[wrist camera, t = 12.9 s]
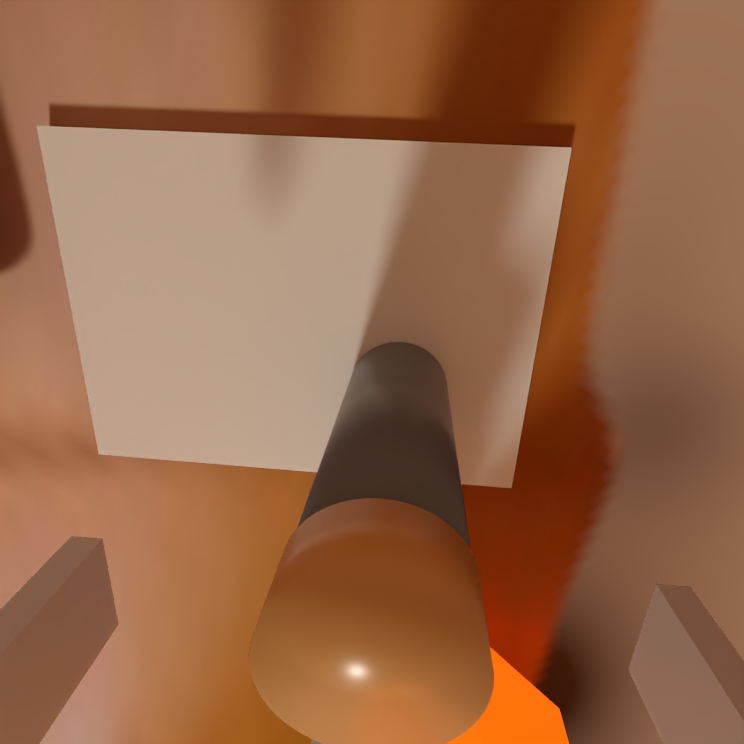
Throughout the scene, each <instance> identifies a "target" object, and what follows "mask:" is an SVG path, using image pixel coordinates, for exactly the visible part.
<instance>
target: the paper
mask: <svg viewBox="0 0 744 744" xmlns="http://www.w3.org/2000/svg"><path fill="white" fill-rule="evenodd" d="M37 131H38V136H39V142H40V147H41V152H42V158H43V163H44V168H45V173H46V179H47V184H48V189H49V194H50V200H51V205H52V210H53V216H54V221H55V226H56V231H57V237H58V242H59V247H60V252H61V258H62V263H63V268H64V274H65V279H66V284H67V289H68V295H69V300H70V305H71V311H72V316H73V321H74V326H75V332H76V337H77V342H78V347H79V353H80V358H81V363H82V369H83V374H84V379H85V384H86V390H87V395H88V400H89V405H90V411H91V416H92V421H93V427H94V432H95V437H96V442H97V448H98V453H99V454H102V455H114V456H126V457H138V458H150V459H163V460H175V461H187V462H199V463H211V464H223V465H235V466H247V467H259V468H272V469H284V470H296V471H308V472H317V471H318V469H319V466H320V463H321V460H322V457H323V455H324V452H325V449H326V446H327V443H328V440H329V438H330V435H331V432H332V429H333V426H334V424H335V421H336V418H337V415H338V412H339V410H340V407H341V404H342V401H343V398H344V396H345V393H346V390H347V387H348V384H349V381H350V379H351V376H352V373H353V370H354V368H355V366H356V364H357V363H358V361H359V360H360V359H361V358H362V357H363V356H364V354H366V353H367V352H368V351H370V350H371V349H373V348H375V347H377V346H379V345H382V344H385V343H391V342H405V343H410V344H414V345H417V346H419V347H421V348H423V349H425V350H426V351H428V352H429V353H431V354H432V355H433V356H434V357H435V358H436V359H437V361H438V362H439V363H440V365H441V366H442V368H443V371H444V373H445V376H446V381H447V388H448V395H449V402H450V409H451V416H452V423H453V431H454V438H455V445H456V452H457V459H458V466H459V473H460V481H461V484H466V485H478V486H490V487H502V488H512V483H513V477H514V472H515V466H516V460H517V455H518V449H519V443H520V438H521V432H522V426H523V421H524V415H525V409H526V404H527V398H528V392H529V387H530V381H531V375H532V370H533V364H534V358H535V353H536V347H537V341H538V336H539V330H540V324H541V319H542V313H543V308H544V302H545V296H546V291H547V285H548V279H549V274H550V268H551V262H552V257H553V251H554V245H555V240H556V234H557V228H558V223H559V217H560V211H561V206H562V200H563V194H564V189H565V183H566V177H567V172H568V166H569V160H570V155H571V149H572V148H570V147H545V146H521V145H496V144H472V143H448V142H423V141H399V140H374V139H350V138H325V137H301V136H276V135H252V134H227V133H203V132H179V131H154V130H130V129H105V128H81V127H56V126H37Z"/></svg>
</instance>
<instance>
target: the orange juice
mask: <svg viewBox="0 0 744 744" xmlns="http://www.w3.org/2000/svg"><path fill="white" fill-rule="evenodd" d="M490 650H491V656H492V663H493V670H494V688H493V692H492V696H491V699H490V702H489V704H488V706H487V708H486V710H485V711H484V713H483V714H482V716H481V717H480V719H479V720H478V721H477V722H476V723H475V724H474V725H473V726H472V727H471V728H470V729H469V730H467V731H466V732H465V733H464V734H462V735H461V736H459V737H457V738H456V739H454V740H452V741H451V742H448V743H446V744H569V742H568V739H567V735H566V732H565V728H564V724H563V721H562V717H561V714H560V710H559V708H558V707H557V706H556V705H554V704H553V703H552V702H551V701H550V700H549V699H548V698H547V697H545V696H544V695H543V694H542V693H541V692H540V691H539V690H538V689H537V688H535V687H534V686H533V685H532V684H531V683H530V682H529V681H528V680H526V679H525V678H524V677H523V676H522V675H521V674H520V673H519V672H517V671H516V670H515V669H514V668H513V667H512V666H511V665H510V664H508V663H507V662H506V661H505V660H504V659H503V658H502V657H501V656H499V655H498V654H497V653H496V652H495V651H494V650H493V649H492V648H490Z"/></svg>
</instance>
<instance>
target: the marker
mask: <svg viewBox="0 0 744 744" xmlns="http://www.w3.org/2000/svg"><path fill="white" fill-rule="evenodd" d="M249 668H250V672H251V677H252V679H253V682H254V684H255V687H256V689H257V690H258V692H259V694H260V696H261V697H262V699H263V700H264V701H265V703H266V704H267V705H268V707H269V708H270V709H271V710H272V711H273V712H274V713H275V714H276V715H277V716H278V717H279V718H280V719H282V720H283V721H284V722H285V723H286V724H288V725H289V726H290V727H292V728H293V729H295V730H296V731H298V732H299V733H301V734H303V735H305V736H307V737H309V738H311V739H313V740H315V741H317V742H320V743H322V744H446V743H448V742H451V741H452V740H454V739H456V738H457V737H459V736H461V735H462V734H464V733H465V732H466V731H467V730H469V729H470V728H471V727H472V726H473V725H474V724H475V723H476V722H477V721H478V720H479V719H480V717H481V716H482V714H483V713H484V711H485V710H486V708H487V706H488V704H489V702H490V699H491V696H492V692H493V688H494V670H493V663H492V656H491V650H490V643H489V637H488V630H487V624H486V617H485V611H484V604H483V598H482V591H481V585H480V578H479V572H478V567H477V564H476V561H475V558H474V556H473V554H472V552H471V550H470V545H469V538H468V530H467V523H466V516H465V509H464V502H463V495H462V488H461V481H460V473H459V466H458V459H457V452H456V445H455V438H454V431H453V423H452V416H451V409H450V402H449V395H448V388H447V381H446V376H445V373H444V371H443V368H442V366H441V365H440V363H439V362H438V361H437V359H436V358H435V357H434V356H433V355H432V354H431V353H429V352H428V351H426V350H425V349H423V348H421V347H419V346H417V345H414V344H410V343H405V342H391V343H385V344H382V345H379V346H377V347H375V348H373V349H371V350H370V351H368V352H367V353H366V354H364V356H363V357H362V358H361V359H360V360H359V361H358V363H357V364H356V366H355V368H354V370H353V373H352V376H351V379H350V381H349V384H348V387H347V390H346V393H345V396H344V398H343V401H342V404H341V407H340V410H339V412H338V415H337V418H336V421H335V424H334V426H333V429H332V432H331V435H330V438H329V440H328V443H327V446H326V449H325V452H324V455H323V457H322V460H321V463H320V466H319V469H318V471H317V474H316V477H315V480H314V483H313V485H312V488H311V491H310V494H309V497H308V500H307V502H306V505H305V508H304V511H303V514H302V516H301V519H300V522H299V525H298V528H297V529H296V530H295V531H294V533H293V534H292V535H291V537H290V539H289V540H288V542H287V544H286V546H285V549H284V552H283V554H282V557H281V560H280V563H279V565H278V568H277V571H276V573H275V576H274V579H273V581H272V584H271V587H270V590H269V592H268V595H267V598H266V600H265V603H264V606H263V608H262V611H261V614H260V617H259V619H258V622H257V625H256V627H255V630H254V633H253V636H252V639H251V641H250V647H249Z"/></svg>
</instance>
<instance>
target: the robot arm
mask: <svg viewBox="0 0 744 744" xmlns="http://www.w3.org/2000/svg"><path fill="white" fill-rule="evenodd" d="M117 625H118V619H117V614H116V609H115V603H114V598H113V593H112V588H111V582H110V577H109V572H108V566H107V561H106V556H105V550H104V545H103V540H102V539H100V538H88V537H75V536H71V537H70V538H69V539H68V541H67V542H66V543H65V544H64V545H63V546H62V547H61V548H60V549H59V550H58V551H57V552H56V553H55V554H54V555H53V556H52V557H51V558H50V559H49V560H48V561H47V562H46V563H45V564H44V565H43V566H42V567H41V568H40V570H39V571H38V572H37V573H36V574H35V575H34V576H33V577H32V578H31V579H30V580H29V581H28V582H27V583H26V584H25V585H24V586H23V587H22V588H21V589H20V590H19V591H18V592H17V593H16V594H15V595H14V596H13V597H12V598H11V600H10V601H9V602H8V603H7V604H6V605H5V606H4V607H3V608H2V609H1V610H0V744H39V743H40V742H41V740H42V739H43V737H44V736H45V734H46V732H47V731H48V729H49V728H50V726H51V725H52V723H53V722H54V720H55V719H56V717H57V716H58V714H59V713H60V711H61V710H62V708H63V707H64V705H65V704H66V702H67V701H68V699H69V698H70V696H71V695H72V693H73V692H74V690H75V689H76V687H77V686H78V684H79V683H80V681H81V680H82V678H83V677H84V675H85V674H86V672H87V671H88V669H89V668H90V666H91V665H92V663H93V662H94V660H95V659H96V657H97V656H98V654H99V653H100V651H101V649H102V648H103V646H104V645H105V643H106V642H107V640H108V639H109V637H110V636H111V634H112V633H113V631H114V630H115V628H116V627H117ZM629 672H630V674H631V676H632V678H633V680H634V683H635V684H636V687H637V689H638V691H639V693H640V695H641V698H642V700H643V702H644V704H645V706H646V708H647V711H648V712H649V715H650V717H651V719H652V721H653V723H654V725H655V727H656V730H657V732H658V734H659V736H660V738H661V740H662V743H663V744H744V661H743V659H742V658H741V656H740V655H739V654H738V652H737V651H736V649H735V648H734V647H733V645H732V644H731V642H730V641H729V640H728V638H727V637H726V636H725V634H724V633H723V631H722V630H721V629H720V627H719V626H718V624H717V623H716V622H715V620H714V619H713V617H712V616H711V615H710V614H709V612H708V611H707V609H706V608H705V606H704V605H703V604H702V602H701V601H700V600H699V598H698V597H697V595H696V594H695V592H694V591H693V590H692V588H691V587H688V586H676V585H663V584H656V586H655V589H654V593H653V595H652V599H651V601H650V605H649V608H648V611H647V614H646V617H645V620H644V623H643V626H642V629H641V632H640V635H639V639H638V642H637V646H636V648H635V651H634V655H633V657H632V660H631V663H630V667H629Z"/></svg>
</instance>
